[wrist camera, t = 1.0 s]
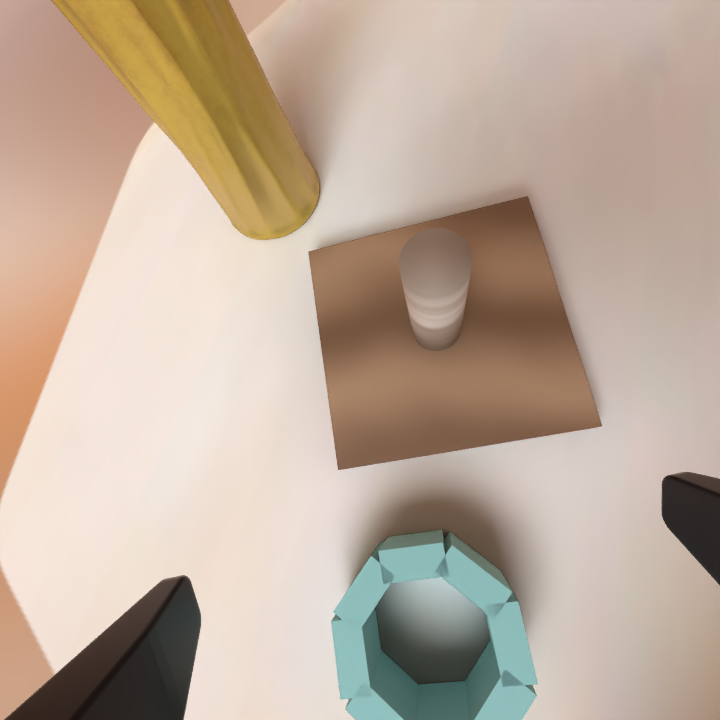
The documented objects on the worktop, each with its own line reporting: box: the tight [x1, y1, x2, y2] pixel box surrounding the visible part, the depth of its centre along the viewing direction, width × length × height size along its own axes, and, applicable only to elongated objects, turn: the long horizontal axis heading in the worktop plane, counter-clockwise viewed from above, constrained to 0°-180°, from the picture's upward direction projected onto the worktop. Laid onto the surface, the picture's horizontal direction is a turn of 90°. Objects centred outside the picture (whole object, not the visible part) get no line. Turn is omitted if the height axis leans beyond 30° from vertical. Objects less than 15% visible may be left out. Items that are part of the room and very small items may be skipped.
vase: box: [51, 0, 319, 240], centre depth 18 cm, size 6×6×14 cm
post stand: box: [309, 196, 602, 470], centre depth 17 cm, size 12×12×8 cm
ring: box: [331, 530, 538, 720], centre depth 16 cm, size 7×7×3 cm
